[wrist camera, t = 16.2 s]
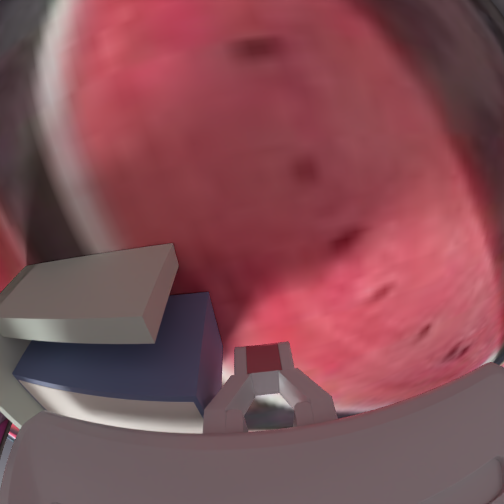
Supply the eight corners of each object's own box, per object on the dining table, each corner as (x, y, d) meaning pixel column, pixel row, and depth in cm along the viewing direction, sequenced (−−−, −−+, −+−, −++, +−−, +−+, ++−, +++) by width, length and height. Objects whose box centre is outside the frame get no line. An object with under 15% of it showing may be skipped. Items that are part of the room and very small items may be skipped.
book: (222, 346, 15) (220, 439, 10) (83, 348, 15) (53, 418, 10) (208, 291, 13) (196, 396, 8) (56, 303, 13) (11, 374, 8)
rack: (213, 372, 16) (209, 487, 9) (87, 370, 17) (57, 457, 9) (172, 242, 12) (114, 398, 5) (26, 265, 12) (-48, 355, 5)
